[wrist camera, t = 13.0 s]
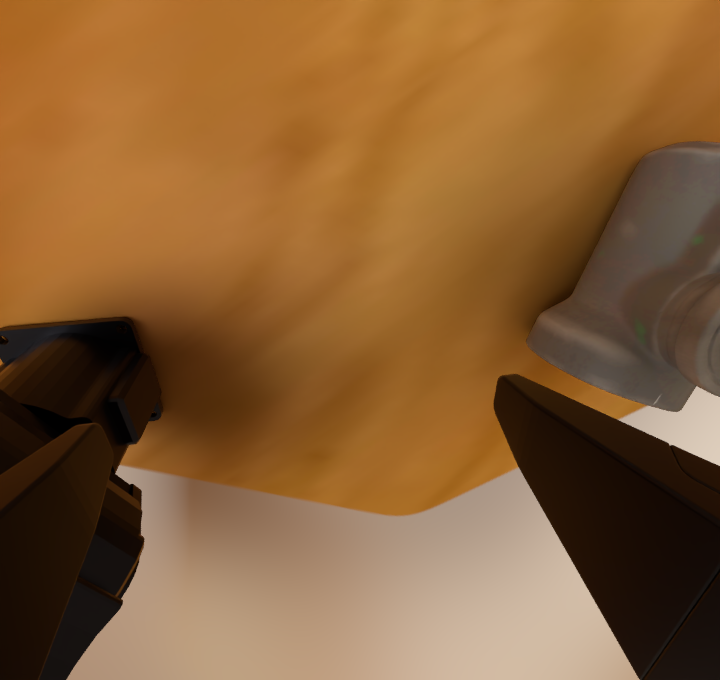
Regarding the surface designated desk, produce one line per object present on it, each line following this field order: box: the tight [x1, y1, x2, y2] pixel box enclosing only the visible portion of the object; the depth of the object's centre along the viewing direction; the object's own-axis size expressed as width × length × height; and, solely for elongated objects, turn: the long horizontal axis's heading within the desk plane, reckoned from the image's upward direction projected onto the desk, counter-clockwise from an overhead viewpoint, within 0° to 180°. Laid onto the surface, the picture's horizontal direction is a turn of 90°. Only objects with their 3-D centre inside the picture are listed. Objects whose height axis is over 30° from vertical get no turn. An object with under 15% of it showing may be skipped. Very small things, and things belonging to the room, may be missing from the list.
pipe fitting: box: [526, 141, 720, 412], centre depth 20 cm, size 12×8×10 cm
